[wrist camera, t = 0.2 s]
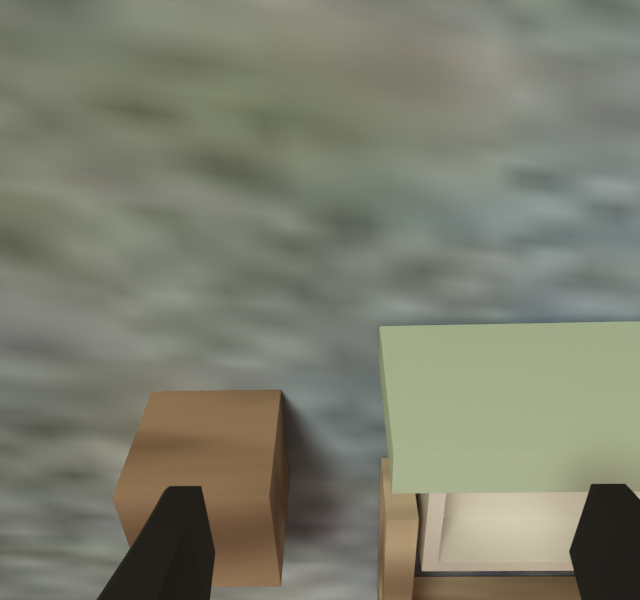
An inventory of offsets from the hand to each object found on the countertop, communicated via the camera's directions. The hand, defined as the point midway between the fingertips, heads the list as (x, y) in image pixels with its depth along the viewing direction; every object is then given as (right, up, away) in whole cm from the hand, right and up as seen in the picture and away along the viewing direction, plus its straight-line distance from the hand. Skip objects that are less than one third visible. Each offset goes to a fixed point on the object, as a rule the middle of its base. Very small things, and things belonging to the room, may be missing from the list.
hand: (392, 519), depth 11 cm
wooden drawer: (+8, -1, +12) cm, 15 cm away
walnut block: (-5, -1, +13) cm, 14 cm away
